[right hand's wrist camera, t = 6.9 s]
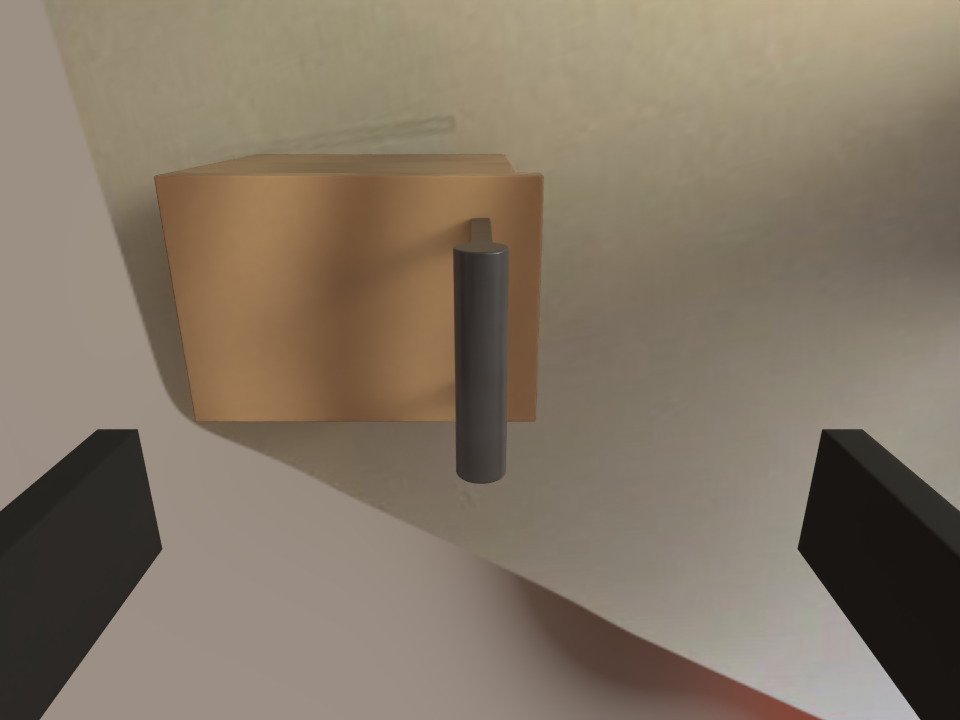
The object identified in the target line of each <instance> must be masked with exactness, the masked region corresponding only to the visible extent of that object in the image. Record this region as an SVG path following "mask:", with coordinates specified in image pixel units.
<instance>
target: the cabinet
mask: <svg viewBox="0 0 960 720" xmlns="http://www.w3.org/2000/svg"><path fill="white" fill-rule="evenodd" d="M171 173H515V172H514V170H513V168H512V166H511V165H510V163H509V161H508V159H507V157H506V155H252V156H247V157H242V158H238V159H233V160H228V161H223V162H218V163H214V164H209V165H204V166H199V167H195V168H190V169H185V170H180V171H176V172H171Z"/></svg>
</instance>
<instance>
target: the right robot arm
mask: <svg viewBox="0 0 960 720" xmlns="http://www.w3.org/2000/svg"><path fill="white" fill-rule="evenodd" d="M161 550H162V545H161V540H160V536H159V531H158V526H157V521H156V516H155V511H154V506H153V501H152V497H151V492H150V487H149V482H148V477H147V472H146V467H145V463H144V458H143V453H142V448H141V443H140V438H139V433H138V430H137V429H98V430H96V431H95V432H94V433H93V434H92V435H90V436H89V437H88V438H87V439H86V440H85V441H83V442H82V443H81V444H80V445H79V446H77V447H76V448H75V449H74V450H73V451H71V452H70V453H69V454H68V455H67V456H66V457H64V458H63V459H62V460H61V461H60V462H58V463H57V464H56V465H55V466H54V467H52V468H51V469H50V470H49V471H48V472H47V473H45V474H44V475H43V476H42V477H41V478H39V479H38V480H37V481H36V482H35V483H33V484H32V485H31V486H30V487H29V488H28V489H26V490H25V491H24V492H23V493H22V494H20V495H19V496H18V497H17V498H16V499H14V500H13V501H12V502H11V503H10V504H8V505H7V506H6V507H5V508H4V509H3V510H1V511H0V720H40V718H41V717H42V716H43V714H44V713H45V711H46V710H47V709H48V707H49V706H50V704H51V703H52V702H53V700H54V699H55V697H56V696H57V695H58V693H59V692H60V691H61V689H62V688H63V686H64V685H65V684H66V682H67V681H68V679H69V678H70V677H71V675H72V674H73V672H74V671H75V670H76V668H77V667H78V666H79V664H80V663H81V661H82V660H83V659H84V657H85V656H86V654H87V653H88V652H89V650H90V649H91V647H92V646H93V645H94V643H95V642H96V641H97V639H98V638H99V636H100V635H101V634H102V632H103V631H104V629H105V628H106V627H107V625H108V624H109V622H110V621H111V620H112V618H113V617H114V616H115V614H116V613H117V611H118V610H119V609H120V607H121V606H122V604H123V603H124V602H125V600H126V599H127V597H128V596H129V595H130V593H131V592H132V591H133V589H134V588H135V586H136V585H137V584H138V582H139V581H140V579H141V578H142V577H143V575H144V574H145V572H146V571H147V570H148V568H149V567H150V566H151V564H152V563H153V561H154V560H155V559H156V557H157V556H158V554H159V553H160V552H161ZM798 550H799V552H800V553H801V554H802V556H803V557H804V559H805V560H806V561H807V563H808V564H809V566H810V567H811V568H812V570H813V571H814V572H815V574H816V575H817V577H818V578H819V579H820V581H821V582H822V584H823V585H824V586H825V588H826V589H827V591H828V592H829V593H830V595H831V596H832V597H833V599H834V600H835V602H836V603H837V604H838V606H839V607H840V609H841V610H842V611H843V613H844V614H845V616H846V617H847V618H848V620H849V621H850V622H851V624H852V625H853V627H854V628H855V629H856V631H857V632H858V634H859V635H860V636H861V638H862V639H863V641H864V642H865V643H866V645H867V646H868V647H869V649H870V650H871V652H872V653H873V654H874V656H875V657H876V659H877V660H878V661H879V663H880V664H881V666H882V667H883V668H884V670H885V671H886V672H887V674H888V675H889V677H890V678H891V679H892V681H893V682H894V684H895V685H896V686H897V688H898V689H899V691H900V692H901V693H902V695H903V696H904V697H905V699H906V700H907V702H908V703H909V704H910V706H911V707H912V709H913V710H914V711H915V713H916V714H917V716H918V717H919V718H920V720H960V511H959V510H957V509H956V508H955V507H954V506H953V505H952V504H950V503H949V502H948V501H947V500H946V499H944V498H943V497H942V496H941V495H940V494H938V493H937V492H936V491H935V490H934V489H933V488H931V487H930V486H929V485H928V484H927V483H925V482H924V481H923V480H922V479H921V478H919V477H918V476H917V475H916V474H915V473H913V472H912V471H911V470H910V469H909V468H908V467H906V466H905V465H904V464H903V463H902V462H900V461H899V460H898V459H897V458H896V457H894V456H893V455H892V454H891V453H890V452H889V451H887V450H886V449H885V448H884V447H883V446H881V445H880V444H879V443H878V442H877V441H875V440H874V439H873V438H872V437H871V436H870V435H868V434H867V433H866V432H865V431H864V430H862V429H822V433H821V438H820V443H819V448H818V453H817V458H816V462H815V467H814V472H813V477H812V482H811V487H810V492H809V496H808V501H807V506H806V511H805V516H804V521H803V526H802V530H801V535H800V540H799V545H798Z"/></svg>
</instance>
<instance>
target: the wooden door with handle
mask: <svg viewBox="0 0 960 720" xmlns="http://www.w3.org/2000/svg"><path fill="white" fill-rule="evenodd" d="M154 179H155V185H156V191H157V197H158V203H159V209H160V215H161V221H162V226H163V232H164V238H165V244H166V250H167V256H168V262H169V268H170V273H171V279H172V285H173V291H174V297H175V303H176V309H177V315H178V320H179V326H180V332H181V338H182V344H183V350H184V356H185V362H186V367H187V373H188V379H189V385H190V391H191V397H192V403H193V409H194V414H195V420H196V421H197V422H279V421H456V472H457V474H458V476H459V477H460V478H461V479H463V480H465V481H468V482H471V483H478V484H485V483H491V482H495V481H497V480H499V479H501V478H502V477H503V476H504V474H505V472H506V432H507V421H535V420H536V398H537V368H538V338H539V308H540V278H541V248H542V218H543V188H544V176H543V175H542V174H541V173H166V174H161V175H156V176H154Z"/></svg>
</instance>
